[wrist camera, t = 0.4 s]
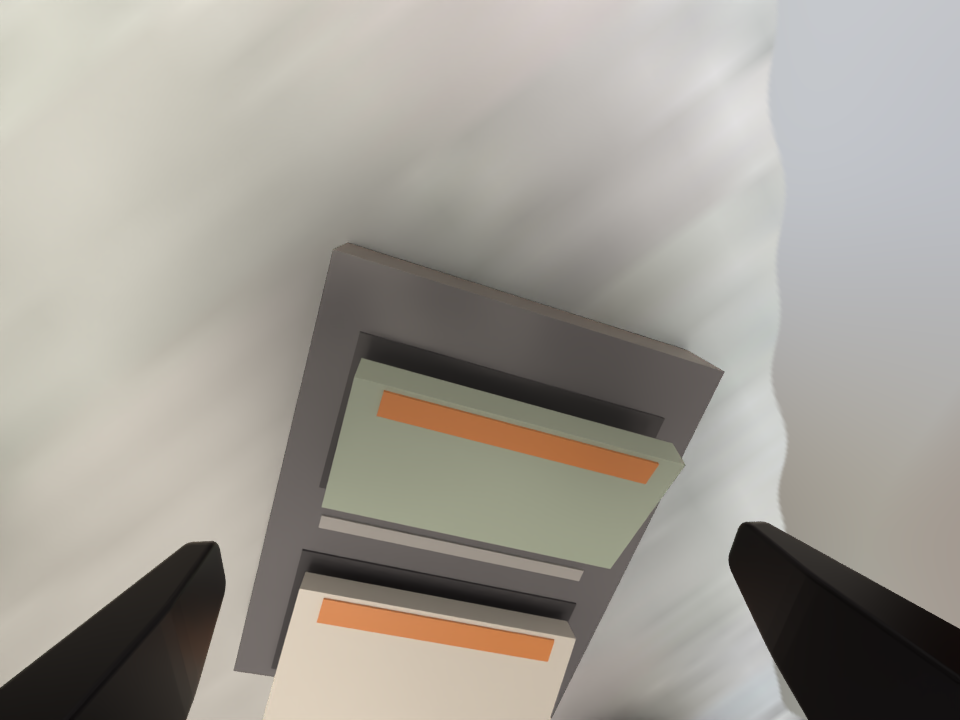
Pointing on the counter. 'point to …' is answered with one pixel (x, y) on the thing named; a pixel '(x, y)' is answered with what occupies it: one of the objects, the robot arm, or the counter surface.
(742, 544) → the robot arm
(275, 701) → the plate
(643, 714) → the counter surface
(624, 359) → the rocker switch panel
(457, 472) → the green rocker
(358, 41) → the counter surface
